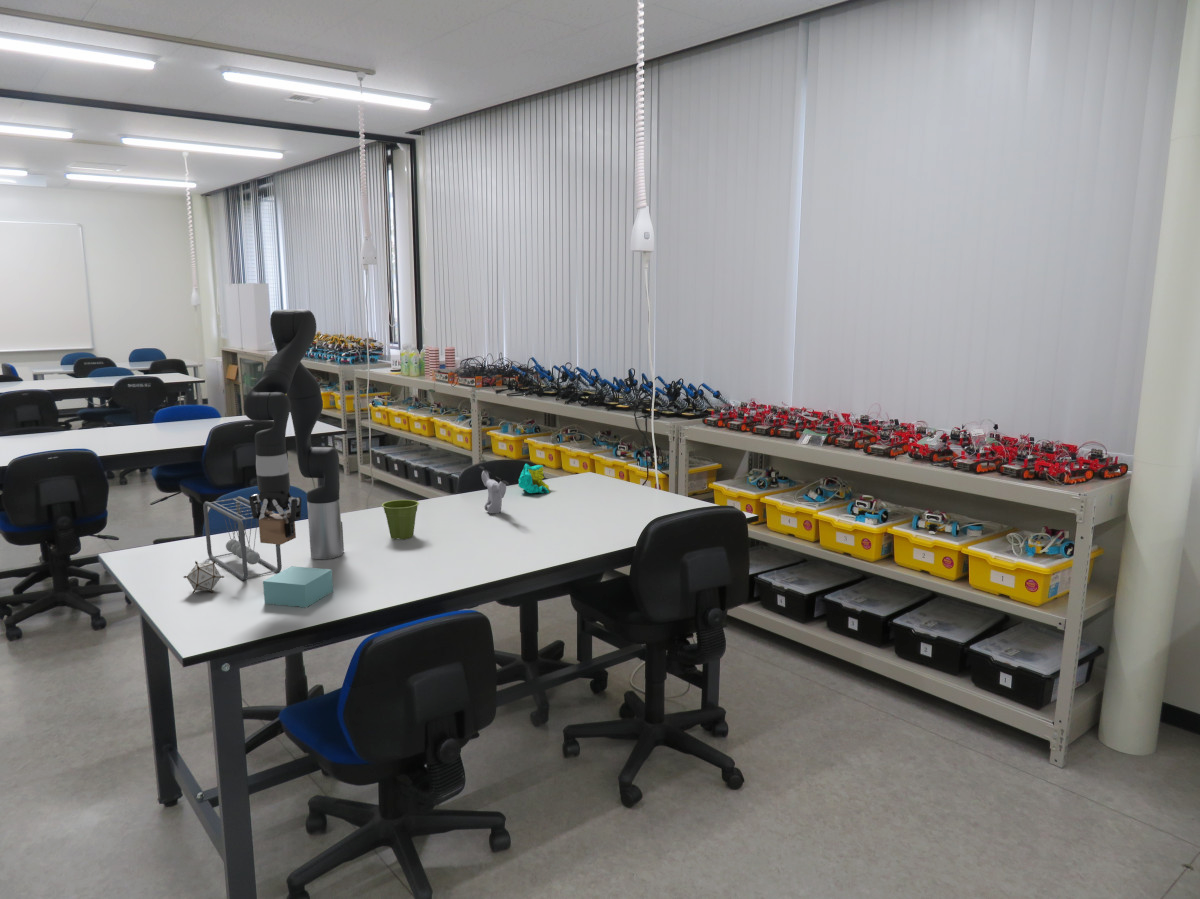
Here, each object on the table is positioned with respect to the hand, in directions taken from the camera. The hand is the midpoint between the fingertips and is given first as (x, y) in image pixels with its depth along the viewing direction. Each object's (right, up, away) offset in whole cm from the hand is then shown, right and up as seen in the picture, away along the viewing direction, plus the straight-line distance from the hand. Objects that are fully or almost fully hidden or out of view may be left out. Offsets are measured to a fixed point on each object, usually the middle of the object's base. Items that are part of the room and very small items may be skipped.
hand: (278, 535), depth 202 cm
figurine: (+43, -1, +88) cm, 98 cm away
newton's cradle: (-22, -12, +30) cm, 39 cm away
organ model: (+54, +5, +121) cm, 132 cm away
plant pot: (+17, -7, +58) cm, 61 cm away
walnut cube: (0, -1, 0) cm, 1 cm away
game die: (-23, -16, +9) cm, 29 cm away
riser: (+4, -17, +5) cm, 18 cm away
